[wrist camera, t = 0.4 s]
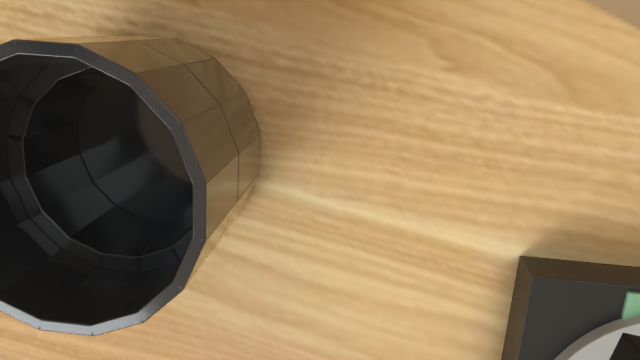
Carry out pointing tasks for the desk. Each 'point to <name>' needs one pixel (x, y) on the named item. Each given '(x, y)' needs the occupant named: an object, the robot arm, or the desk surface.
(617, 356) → the robot arm
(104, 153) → the cup
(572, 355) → the scale
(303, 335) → the desk surface
